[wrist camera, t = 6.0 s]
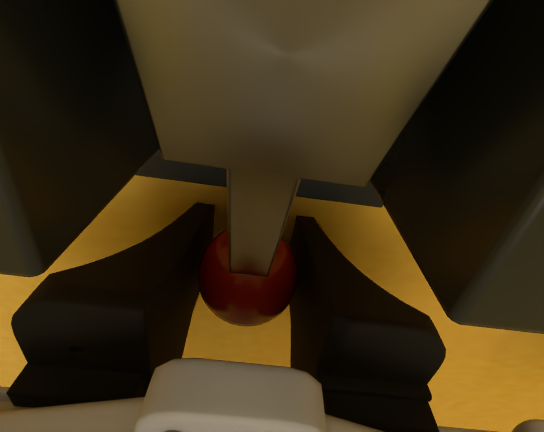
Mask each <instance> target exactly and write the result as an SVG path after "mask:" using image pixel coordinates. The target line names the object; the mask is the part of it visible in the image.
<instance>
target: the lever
mask: <svg viewBox="0 0 544 432" xmlns="http://www.w3.org/2000/svg"><path fill="white" fill-rule="evenodd" d="M493 1H494V0H113V2H114V5H115V8H116V11H117V15H118V18H119V21H120V24H121V28H122V31H123V34H124V37H125V41H126V44H127V47H128V50H129V53H130V57H131V60H132V63H133V66H134V70H135V73H136V76H137V79H138V83H139V86H140V89H141V92H142V95H143V99H144V102H145V105H146V108H147V112H148V115H149V118H150V121H151V125H152V128H153V131H154V134H155V137H156V141H157V144H158V147H159V150H160V154H161V157H162V159H164V160H166V161H173V162H180V163H187V164H195V165H202V166H209V167H217V168H224V169H227V203H228V229H227V230H225V231H223V232H221V233H220V234H218V235H217V236H216V237H215V238H214V239H213V240H212V241H211V242H210V243H209V244H208V246H207V247H206V249H205V250H204V252H203V254H202V256H201V259H200V262H199V266H198V286H199V290H200V294H201V296H202V298H203V300H204V302H205V303H206V305H207V307H208V308H209V309H210V310H211V311H212V312H213V313H214V314H215V315H216V316H217V317H219V318H220V319H222V320H224V321H226V322H228V323H230V324H234V325H238V326H256V325H261V324H264V323H266V322H269V321H270V320H272V319H274V318H276V317H277V316H278V315H280V314H281V313H282V312H283V311H284V310H285V309H286V307H287V306H288V305H289V303H290V301H291V300H292V298H293V296H294V293H295V291H296V287H297V281H298V268H297V262H296V259H295V256H294V254H293V252H292V250H291V248H290V247H289V245H288V244H287V242H286V241H285V240H284V239H283V238H282V234H283V231H284V228H285V225H286V222H287V219H288V216H289V213H290V210H291V207H292V204H293V201H294V198H295V195H296V192H297V189H298V186H299V183H300V180H301V179H305V180H313V181H320V182H327V183H335V184H342V185H350V186H357V187H366V186H367V185H368V184H369V182H370V181H371V179H372V178H373V176H374V175H375V174H376V172H377V171H378V169H379V168H380V166H381V165H382V163H383V162H384V160H385V159H386V157H387V156H388V154H389V153H390V152H391V150H392V149H393V147H394V146H395V144H396V143H397V141H398V140H399V138H400V137H401V135H402V134H403V132H404V131H405V130H406V128H407V127H408V125H409V124H410V122H411V121H412V119H413V118H414V116H415V115H416V113H417V112H418V111H419V109H420V108H421V106H422V105H423V103H424V102H425V100H426V99H427V97H428V96H429V94H430V93H431V91H432V90H433V89H434V87H435V86H436V84H437V83H438V81H439V80H440V78H441V77H442V75H443V74H444V72H445V71H446V69H447V68H448V67H449V65H450V64H451V62H452V61H453V59H454V58H455V56H456V55H457V53H458V52H459V50H460V49H461V47H462V46H463V45H464V43H465V42H466V40H467V39H468V37H469V36H470V34H471V33H472V31H473V30H474V28H475V27H476V25H477V24H478V23H479V21H480V20H481V18H482V17H483V15H484V14H485V12H486V11H487V9H488V8H489V6H490V5H491V3H492V2H493Z"/></svg>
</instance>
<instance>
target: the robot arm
mask: <svg viewBox="0 0 544 432" xmlns="http://www.w3.org/2000/svg"><path fill="white" fill-rule="evenodd" d="M214 210H215V205H213V204H205V203H198V202H197V203H196V204H194V205H193V206H192V207H191V208H190V209H189V210H187V211H186V212H185V213H184V214H183V215H181V216H180V217H179V218H178V219H176V220H175V221H174V222H172V223H171V224H170V225H168V226H167V227H165V228H164V229H162V230H161V231H160V232H158V233H156V234H155V235H153V236H151V237H150V238H148V239H146V240H144V241H142V242H140V243H138V244H136V245H134V246H132V247H130V248H127V249H125V250H123V251H121V252H119V253H116V254H114V255H111V256H109V257H106V258H103V259H100V260H97V261H95V262H92V263H88V264H85V265H82V266H78V267H75V268H71V269H67V270H64V271H60V272H56V273H52V274H49V275H48V276H47V277H46V278H45V280H44V281H43V282H42V283H41V284H40V285H39V286H38V287H37V288H36V289H35V290H34V291H33V293H32V294H31V295H30V296H29V297H28V298H27V300H26V301H25V302H24V303H23V304H22V305H21V306H20V308H19V309H18V310H17V311H16V312H15V313H14V315H13V317H12V322H11V325H12V329H13V333H14V336H15V338H16V340H17V342H18V344H19V346H20V348H21V350H22V352H23V354H24V356H25V358H26V360H27V362H28V363H27V365H26V366H25V367H24V369H23V370H22V372H21V373H20V374H19V376H18V377H17V378H16V380H15V381H14V383H13V384H12V385H11V387H0V432H496V431H485V430H474V429H463V428H452V427H441V426H437V424H436V421H435V419H434V416H433V413H432V411H431V408H430V406H429V403H428V401H429V402H430V401H431V399H432V395H431V392H430V390H429V387H428V385H427V384H428V382H429V381H430V380H431V378H432V377H433V376H434V374H435V373H436V372H437V370H438V369H439V368H440V366H441V364H442V363H443V361H444V359H445V354H446V349H445V346H444V344H443V342H442V340H441V338H440V336H439V333H438V331H437V329H436V327H435V326H434V324H433V322H432V320H431V319H430V317H429V316H428V315H426V314H424V313H422V312H421V311H419V310H417V309H415V308H413V307H411V306H410V305H408V304H406V303H404V302H403V301H401V300H399V299H398V298H396V297H395V296H393V295H391V294H390V293H388V292H387V291H385V290H384V289H383V288H381V287H380V286H378V285H377V284H376V283H374V282H373V281H372V280H370V279H369V278H368V277H367V276H365V275H364V274H363V273H362V272H360V271H359V270H358V269H357V268H356V267H355V266H354V265H353V264H352V263H351V262H350V261H348V260H347V259H346V258H345V257H344V255H343V254H342V253H341V252H340V251H339V250H338V249H337V248H336V247H335V245H334V244H333V243H332V242H331V241H330V239H329V238H328V237H327V236H326V234H325V233H324V232H323V230H322V229H321V227H320V226H319V224H318V223H317V222H316V220H315V219H314V217H306V216H299V215H296V220H295V225H294V229H293V234H292V239H291V243H290V248H291V250H292V252H293V254H294V256H295V259H296V262H297V268H298V281H297V287H296V291H295V293H294V296H293V298H292V300H291V301H290V303H289V306H290V316H291V368H290V367H282V366H272V365H262V364H252V363H242V362H232V361H222V360H212V359H201V358H182V355H183V350H184V346H185V342H186V338H187V333H188V329H189V325H190V321H191V317H192V313H193V310H194V307H195V304H196V301H197V298H198V295H199V293H200V290H199V286H198V266H199V262H200V259H201V256H202V254H203V252H204V250H205V249H206V247H207V246H208V244H209V243H210V242H211V241H212V240H213V230H214ZM512 432H544V420H538V419H533V420H527V421H524V422H522V423H520V424H518V425H517V426H516V427H515V428H514V429H513V431H512Z"/></svg>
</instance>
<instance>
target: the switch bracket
mask: <svg viewBox="0 0 544 432" xmlns="http://www.w3.org/2000/svg"><path fill="white" fill-rule="evenodd" d="M134 175H139V176H146V177H154V178H161V179H169V180H176V181H184V182H192V183H199V184H207V185H214V186H222V187H227V169H224V168H217V167H209V166H202V165H195V164H187V163H180V162H173V161H166V160H164V159H162V157H161V154H160V150H159V147H158V144H157V141H156V137H155V134H154V131H153V128H152V125H151V121H150V118H149V115H148V112H147V108H146V105H145V102H144V99H143V95H142V92H141V89H140V86H139V83H138V79H137V76H136V73H135V70H134V66H133V63H132V60H131V57H130V53H129V50H128V47H127V44H126V41H125V37H124V34H123V31H122V28H121V24H120V21H119V18H118V15H117V11H116V8H115V5H114V2H113V0H0V274H5V275H14V276H23V277H33V276H38V275H40V274H42V273H44V272H45V271H46V270H47V269H48V268H49V267H50V266H51V265H52V264H53V263H54V261H55V260H56V259H57V258H58V257H59V256H60V255H61V254H62V253H63V252H64V251H65V250H66V249H67V247H68V246H69V245H70V244H71V243H72V242H73V241H74V240H75V239H76V238H77V237H78V236H79V235H80V233H81V232H82V231H83V230H84V229H85V228H86V227H87V226H88V225H89V224H90V223H91V222H92V221H93V219H94V218H95V217H96V216H97V215H98V214H99V213H100V212H101V211H102V210H103V209H104V208H105V207H106V205H107V204H108V203H109V202H110V201H111V200H112V199H113V198H114V197H115V196H116V195H117V194H118V193H119V192H120V190H121V189H122V188H123V187H124V186H125V185H126V184H127V183H128V182H129V181H130V180H131V179H132V178H133V176H134ZM295 196H298V197H305V198H313V199H320V200H328V201H335V202H343V203H350V204H358V205H366V206H373V207H382V206H383V205H384V207H385V208H386V210H387V212H388V214H389V215H390V217H391V219H392V221H393V222H394V224H395V226H396V228H397V229H398V231H399V233H400V235H401V236H402V238H403V240H404V242H405V243H406V245H407V247H408V249H409V250H410V252H411V254H412V256H413V257H414V259H415V261H416V263H417V264H418V266H419V268H420V270H421V271H422V273H423V275H424V277H425V278H426V280H427V282H428V283H429V285H430V287H431V289H432V290H433V292H434V294H435V296H436V297H437V299H438V301H439V303H440V304H441V306H442V308H443V310H444V311H445V313H446V315H447V316H448V317H449V318H450V319H451V320H452V321H454V322H456V323H458V324H460V325H469V326H478V327H487V328H496V329H505V330H514V331H523V332H532V333H541V334H544V0H494V1H493V2H492V3H491V5H490V6H489V8H488V9H487V11H486V12H485V14H484V15H483V17H482V18H481V20H480V21H479V23H478V24H477V25H476V27H475V28H474V30H473V31H472V33H471V34H470V36H469V37H468V39H467V40H466V42H465V43H464V45H463V46H462V47H461V49H460V50H459V52H458V53H457V55H456V56H455V58H454V59H453V61H452V62H451V64H450V65H449V67H448V68H447V69H446V71H445V72H444V74H443V75H442V77H441V78H440V80H439V81H438V83H437V84H436V86H435V87H434V89H433V90H432V91H431V93H430V94H429V96H428V97H427V99H426V100H425V102H424V103H423V105H422V106H421V108H420V109H419V111H418V112H417V113H416V115H415V116H414V118H413V119H412V121H411V122H410V124H409V125H408V127H407V128H406V130H405V131H404V132H403V134H402V135H401V137H400V138H399V140H398V141H397V143H396V144H395V146H394V147H393V149H392V150H391V152H390V153H389V154H388V156H387V157H386V159H385V160H384V162H383V163H382V165H381V166H380V168H379V169H378V171H377V172H376V174H375V175H374V176H373V178H372V179H371V181H370V182H369V184H368V185H367V186H366V187H357V186H350V185H342V184H335V183H327V182H320V181H313V180H305V179H301V180H300V183H299V186H298V189H297V192H296V195H295Z"/></svg>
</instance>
